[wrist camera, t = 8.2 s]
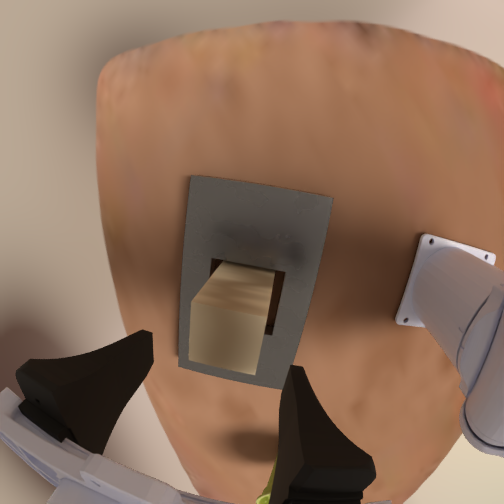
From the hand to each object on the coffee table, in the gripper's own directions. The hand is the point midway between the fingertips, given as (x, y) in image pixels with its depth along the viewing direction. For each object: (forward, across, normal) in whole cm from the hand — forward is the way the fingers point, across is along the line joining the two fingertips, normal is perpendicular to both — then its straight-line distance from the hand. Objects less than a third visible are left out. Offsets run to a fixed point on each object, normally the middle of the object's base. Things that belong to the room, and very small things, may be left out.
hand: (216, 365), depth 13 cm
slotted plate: (+10, 0, 0) cm, 10 cm away
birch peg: (+10, 0, 0) cm, 10 cm away
